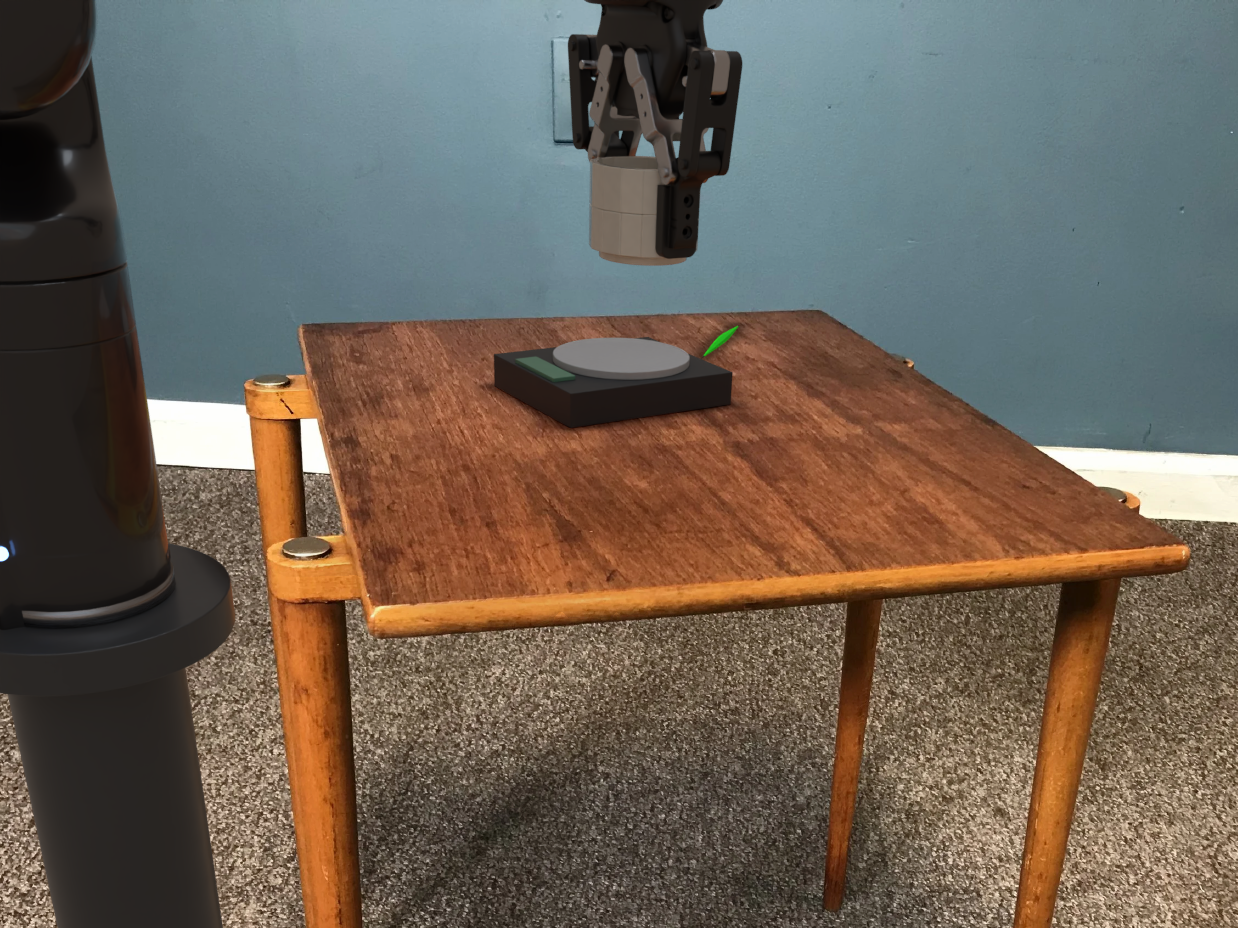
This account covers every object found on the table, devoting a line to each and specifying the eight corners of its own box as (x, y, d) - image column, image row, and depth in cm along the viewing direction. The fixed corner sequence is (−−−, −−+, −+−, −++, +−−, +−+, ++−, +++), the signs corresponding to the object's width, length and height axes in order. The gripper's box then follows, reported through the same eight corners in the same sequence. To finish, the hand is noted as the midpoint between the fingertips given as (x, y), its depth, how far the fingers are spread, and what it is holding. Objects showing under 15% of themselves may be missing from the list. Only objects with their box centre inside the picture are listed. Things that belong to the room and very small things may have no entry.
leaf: (744, 329, 127) (745, 321, 127) (705, 364, 115) (706, 355, 115) (734, 328, 128) (735, 319, 127) (695, 362, 116) (695, 353, 115)
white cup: (624, 270, 73) (627, 171, 70) (570, 250, 77) (571, 157, 75) (716, 263, 76) (722, 168, 73) (659, 244, 80) (663, 154, 78)
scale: (570, 428, 96) (570, 385, 95) (494, 386, 105) (493, 346, 104) (730, 404, 103) (733, 364, 102) (647, 366, 112) (648, 329, 111)
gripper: (522, -103, 72) (525, 228, 79) (667, -107, 61) (654, 275, 69) (643, -93, 75) (634, 222, 83) (800, -95, 65) (773, 265, 73)
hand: (643, 244), depth 76 cm, fingers closed on white cup, 6 cm apart
